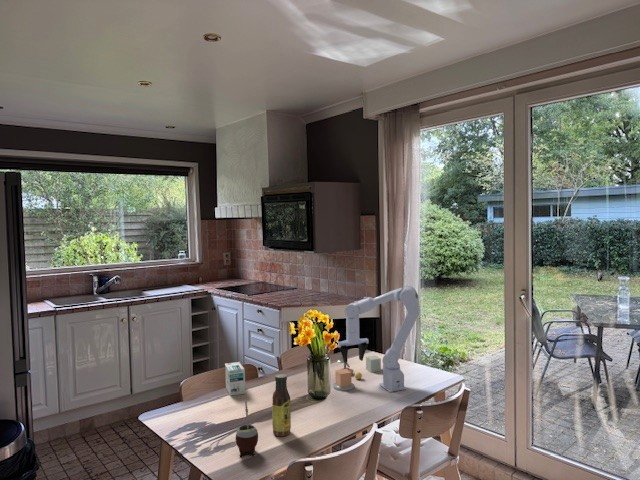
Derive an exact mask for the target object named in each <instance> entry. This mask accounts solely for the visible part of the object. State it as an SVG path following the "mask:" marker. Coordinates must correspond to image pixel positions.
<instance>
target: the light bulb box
mask: <svg viewBox="0 0 640 480" xmlns="http://www.w3.org/2000/svg"><path fill="white" fill-rule="evenodd" d="M224 365H225V366H224V367H225V368H224V371H225V372H224V373H225V388H226V391H227V392H228V394H229V396H237V395H243V394H244V395H245V394H246V371H245V370H246V369H245V367H244V366H243V365H242V364H241V361H238V362H237V361H236V362H235V361H234V362H229V363H224Z"/></svg>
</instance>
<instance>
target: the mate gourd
mask: <svg viewBox="0 0 640 480" xmlns="http://www.w3.org/2000/svg"><path fill="white" fill-rule="evenodd" d="M244 406H245V420H246V424H243V425H241V426H239V427H238V428H237V430H236V432H235V433H236V434H235V444H236V445H237V449H238V451H239V456H240V457H239V458H243V457H244V455H245V456H246V455H249V454H250V455H249V456H251V455H252V457H255V456H256V454H255V449H256V446H257V444H258V442H259V432H258V430H257V428H256V426H254V425H252V424H249V409H248V404H247V399H244ZM254 455H255V456H254ZM242 456H243V457H242Z"/></svg>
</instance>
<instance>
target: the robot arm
mask: <svg viewBox="0 0 640 480" xmlns="http://www.w3.org/2000/svg"><path fill="white" fill-rule="evenodd" d="M391 301H395V302H399V301H400V302H401V303H402V305H404V307H405V309H406V312H407V313H406V316H405V318H404V320H403V321H402V324H401V326H400V327H399V330H398V331H397V334H396V336H395V338H394V341H393V342H392V344H391V346H390V347H389V348H388V349H387V350H386V351H385V354H384V355H383V357H382V359H381V362H382V382H380V383H379V384H378V385H379V386H380V387H382V388H383V389H385V390H387V392H389V393H392V392H398V391H399V392H400V391H404V390H406V389H407V387H406V386H405V374H404V372H403V371H402V370H401V365H400V363H399V360H400V357H401V351H402V350H403V348H404V345H405V343H406V341H407V339H408V338H409V335H410V333H411V331H412V329H413V327H414V325H415V323H416V321H417V319H418V318H419V315H420V312H421V308H420V307H421V306H420V302H419V301H420V300H419V294H418V292H417V290H416V289H415V288H414V287H413V286H410V285H407V286H405V287H399V288H395V289H393V290H390V291H388V292H386V293H384V294H381V295H378V296H377V297H374V298H373V297H371V296H368V297H367V296H364V297H363V298H362V299H360V300H355V301H353V302H351V303H349V304H348V305H346V306H345V308H344V313H345V316H346V317H345V318H346V320H345V326H346V328H345V329H346V332H345V335H346V336H345V338H346V339H344V340H342V341H341V340H340V341H337V342H338V346H337V345H336V346H337V348H338V350H339V351H340V353H341V357H342V358H343V360H344V362H345V363H348V352H349V348H347V347H349V346H350V347H351V346H356V345H357V346H358V347H357V348H358V358H359V359H358V360H360V361H363V360H364V357H365V353H366V351H367V349H368V346H369V345H368V344H369V338H367V337H365V338H360V317H359V316H360V315H362V314H365V313H369V312H371V311H374V310H375V309H376V306H379V305H382V304H383V303H387V302H391Z"/></svg>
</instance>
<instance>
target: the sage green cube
mask: <svg viewBox="0 0 640 480" xmlns="http://www.w3.org/2000/svg"><path fill="white" fill-rule="evenodd" d="M365 370H367V371H368V372H369V373H376V372H382V358H380V357H379V356H378V355H370V356H366V357H365Z"/></svg>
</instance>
